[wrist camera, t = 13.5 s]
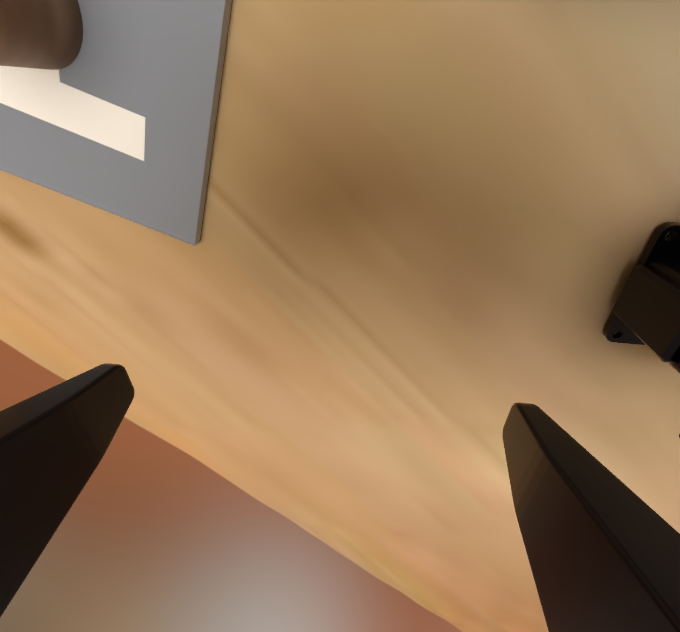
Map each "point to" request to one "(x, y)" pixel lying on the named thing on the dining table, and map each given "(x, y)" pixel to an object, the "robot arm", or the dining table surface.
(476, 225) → the dining table surface
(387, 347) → the dining table surface
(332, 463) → the dining table surface
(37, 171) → the letter board
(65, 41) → the walnut pillar
